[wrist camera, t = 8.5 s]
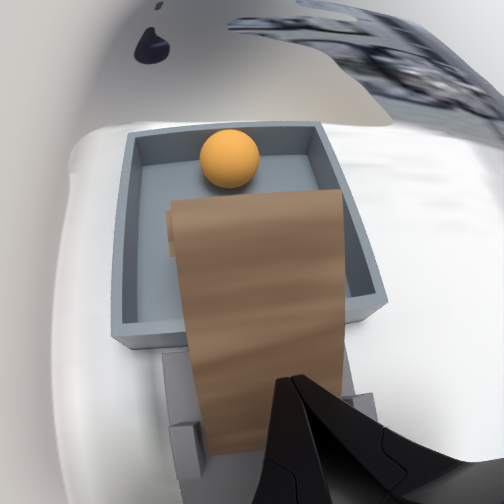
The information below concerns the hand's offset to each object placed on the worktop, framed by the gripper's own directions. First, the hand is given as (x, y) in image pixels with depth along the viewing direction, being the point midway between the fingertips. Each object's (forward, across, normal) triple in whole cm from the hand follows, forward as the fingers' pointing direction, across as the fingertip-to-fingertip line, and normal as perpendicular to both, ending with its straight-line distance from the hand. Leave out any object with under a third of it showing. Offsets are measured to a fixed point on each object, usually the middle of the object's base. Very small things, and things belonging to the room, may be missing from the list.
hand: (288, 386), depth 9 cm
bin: (+13, 0, -2) cm, 13 cm away
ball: (+14, 0, -7) cm, 16 cm away
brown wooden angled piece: (+6, 0, +6) cm, 8 cm away
